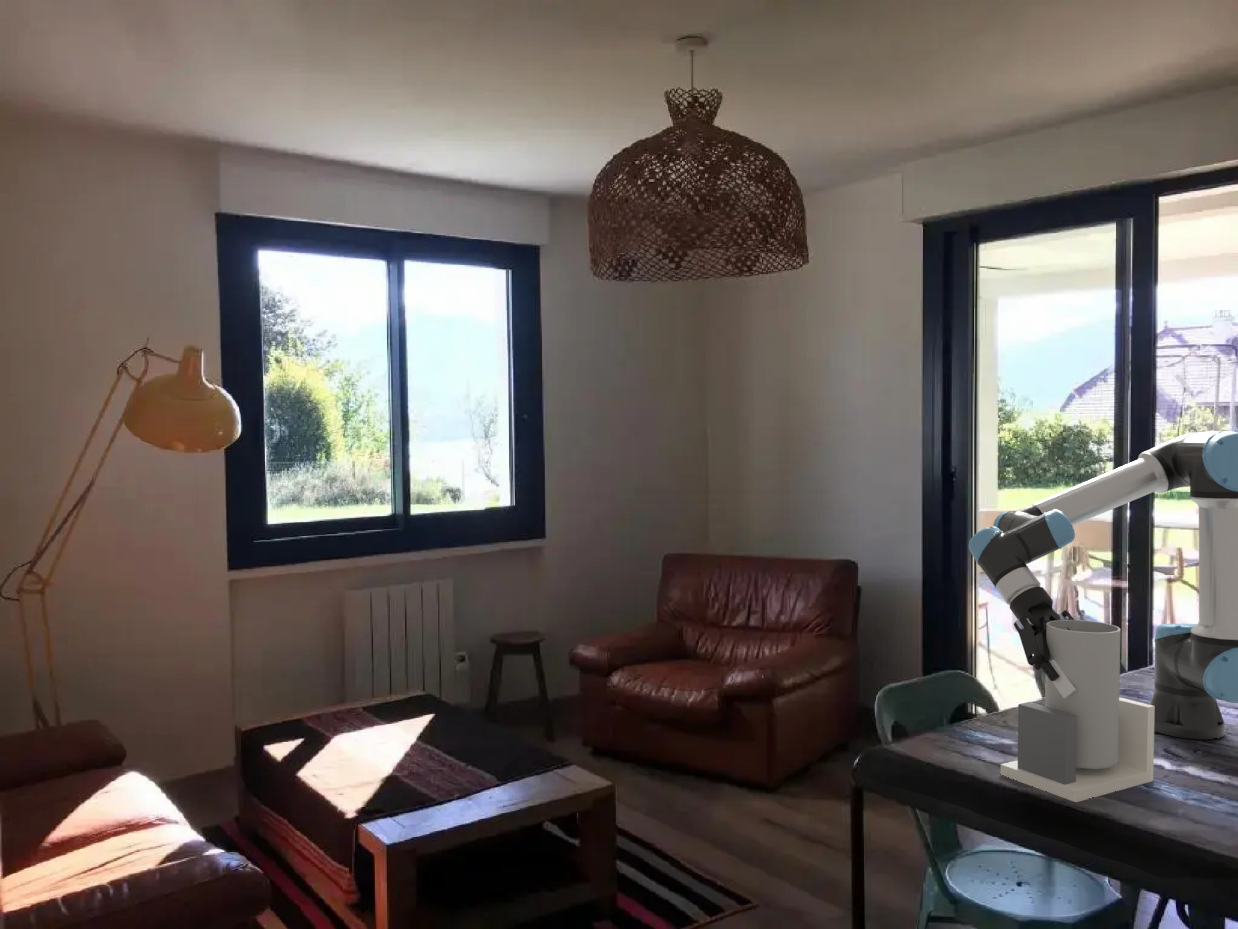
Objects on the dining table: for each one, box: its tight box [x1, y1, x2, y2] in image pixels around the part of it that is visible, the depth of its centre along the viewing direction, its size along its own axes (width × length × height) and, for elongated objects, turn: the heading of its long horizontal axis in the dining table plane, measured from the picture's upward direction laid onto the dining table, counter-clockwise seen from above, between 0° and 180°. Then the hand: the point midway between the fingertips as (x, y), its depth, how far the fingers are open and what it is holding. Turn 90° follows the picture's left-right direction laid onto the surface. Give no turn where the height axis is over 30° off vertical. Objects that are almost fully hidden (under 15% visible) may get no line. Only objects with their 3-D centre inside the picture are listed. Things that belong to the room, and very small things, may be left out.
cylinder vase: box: [1044, 619, 1122, 769], centre depth 186 cm, size 12×12×25 cm
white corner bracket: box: [1000, 696, 1155, 803], centre depth 186 cm, size 22×16×14 cm
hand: (1093, 690), depth 184 cm, fingers closed on cylinder vase, 12 cm apart
